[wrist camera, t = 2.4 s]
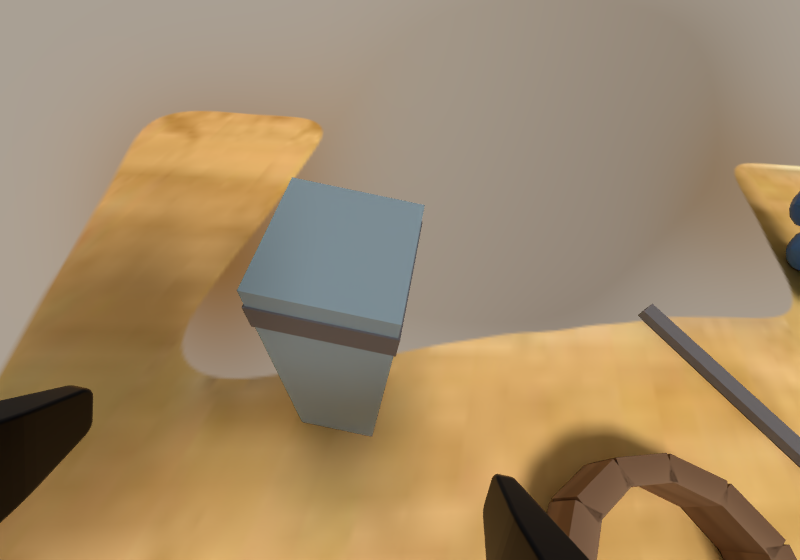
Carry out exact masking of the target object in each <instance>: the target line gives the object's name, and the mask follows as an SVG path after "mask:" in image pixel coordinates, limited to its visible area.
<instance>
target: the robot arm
mask: <svg viewBox="0 0 800 560" xmlns="http://www.w3.org/2000/svg"><path fill="white" fill-rule="evenodd" d="M92 416H93V394H92V392H91V390H89V389H87V388H82V387H78V386H64V387H60V388H55V389H51V390H46V391H42V392H37V393H33V394H28V395H24V396H19V397H15V398H10V399H6V400H1V401H0V523H1V522H2V521H3V520H4V519H5V518H6V517H7V516H8V515H9V514H10V513H12V512H13V511H14V510H15V509H16V508H17V507H18V506H19V505H20V504H21V503H22V502H23V501H24V500H25V499H26V498H27V497H28V496H29V495H30V494H31V493H32V492H33V491H34V490H35V489H36V488H37V487H38V486H39V485H40V484H41V482H42V481H43V480H44V479H45V478H46V477H47V476H48V475H49V474H50V473H51V472H52V471H53V470H54V469H55V467H56V466H57V465H58V464H59V463H60V462H61V461H62V460H63V459H64V458H65V457H66V456H67V455H68V453H69V452H70V451H71V450H72V449H73V448H74V447H75V446H76V445H77V444H78V443H79V442H80V441H81V439H82V438H83V437H84V436H85V435H86V434H87V433H88V431H89V429H90V427H91V425H92ZM483 521H484V535H485V548H486V560H590V559H589V558H588V557H587V556H586V555H585V554H584V553H583V552H582V551H581V550H580V549H579V548H578V546H577V545H576V544H575V543H574V542H573V541H572V540H571V539H570V538H569V537H568V536H567V535H566V534H565V532H564V531H563V530H562V529H561V528H560V527H559V526H558V525H557V524H556V523H555V522H554V521H553V520H552V518H551V517H550V516H549V515H548V514H547V513H546V512H545V511H544V510H543V509H542V508H541V507H540V506H539V504H538V503H537V502H536V501H535V500H534V499H533V498H532V497H531V496H530V495H529V494H528V493H527V492H526V490H525V489H524V488H523V487H522V486H521V485H520V484H519V483H518V482H517V481H516V480H515V479H514V478H513V477H510V476H505V475H500V474H496V475H494V476H493V478H492V480H491V484H490V487H489V490H488V493H487V497H486V500H485V504H484V509H483Z"/></svg>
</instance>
